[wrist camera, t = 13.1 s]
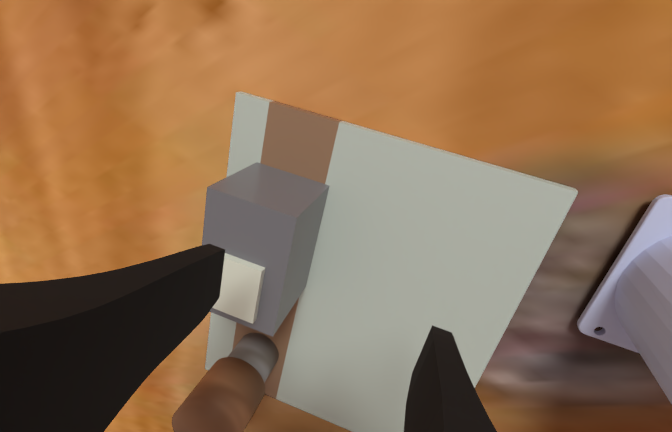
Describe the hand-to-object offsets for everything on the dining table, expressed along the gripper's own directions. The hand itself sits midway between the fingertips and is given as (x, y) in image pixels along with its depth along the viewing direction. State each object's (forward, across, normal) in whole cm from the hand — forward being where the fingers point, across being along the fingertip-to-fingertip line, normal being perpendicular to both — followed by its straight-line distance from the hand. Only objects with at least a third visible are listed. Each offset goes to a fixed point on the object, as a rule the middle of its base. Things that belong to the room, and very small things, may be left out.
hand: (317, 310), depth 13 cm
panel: (+10, 0, +6) cm, 12 cm away
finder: (+10, +5, +3) cm, 11 cm away
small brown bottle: (+10, +5, +13) cm, 17 cm away
